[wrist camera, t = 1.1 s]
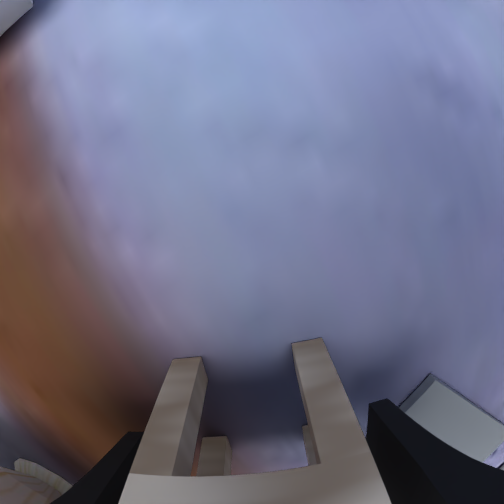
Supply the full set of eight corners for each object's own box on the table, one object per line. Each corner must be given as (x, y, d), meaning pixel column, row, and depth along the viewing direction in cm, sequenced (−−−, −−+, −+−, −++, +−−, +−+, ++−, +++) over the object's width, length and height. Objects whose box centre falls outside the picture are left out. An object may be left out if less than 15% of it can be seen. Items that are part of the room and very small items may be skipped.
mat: (430, 373, 10) (436, 381, 10) (508, 427, 12) (512, 432, 11) (257, 513, 12) (257, 520, 12) (384, 529, 14) (385, 534, 13)
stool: (321, 337, 10) (392, 507, 3) (327, 436, 11) (363, 568, 4) (172, 359, 10) (110, 524, 3) (208, 452, 11) (192, 583, 4)
